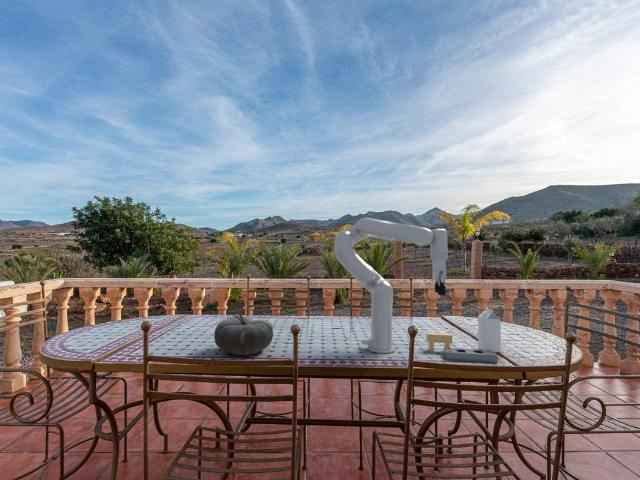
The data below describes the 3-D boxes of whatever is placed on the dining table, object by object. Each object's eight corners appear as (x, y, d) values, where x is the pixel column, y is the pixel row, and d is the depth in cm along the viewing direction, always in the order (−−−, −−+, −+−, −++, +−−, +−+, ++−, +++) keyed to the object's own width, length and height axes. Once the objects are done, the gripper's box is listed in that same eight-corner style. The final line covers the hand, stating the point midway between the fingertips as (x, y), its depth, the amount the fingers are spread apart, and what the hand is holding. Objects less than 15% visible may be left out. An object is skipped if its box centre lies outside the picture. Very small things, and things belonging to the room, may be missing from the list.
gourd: (228, 336, 179) (233, 302, 177) (277, 348, 174) (282, 313, 173) (202, 356, 154) (207, 316, 152) (258, 370, 150) (264, 330, 148)
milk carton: (492, 348, 173) (492, 307, 173) (500, 352, 166) (500, 310, 166) (478, 348, 173) (478, 307, 173) (485, 352, 166) (485, 310, 166)
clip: (427, 350, 167) (427, 334, 168) (426, 349, 170) (426, 332, 171) (452, 352, 166) (452, 335, 166) (451, 350, 169) (451, 334, 169)
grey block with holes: (446, 359, 154) (446, 352, 154) (443, 354, 162) (443, 347, 162) (497, 362, 151) (497, 355, 151) (491, 357, 159) (491, 350, 159)
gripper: (428, 255, 177) (429, 291, 176) (432, 256, 160) (434, 296, 159) (444, 255, 176) (445, 291, 175) (451, 256, 159) (452, 296, 158)
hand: (440, 293), depth 167 cm, fingers open, 9 cm apart
